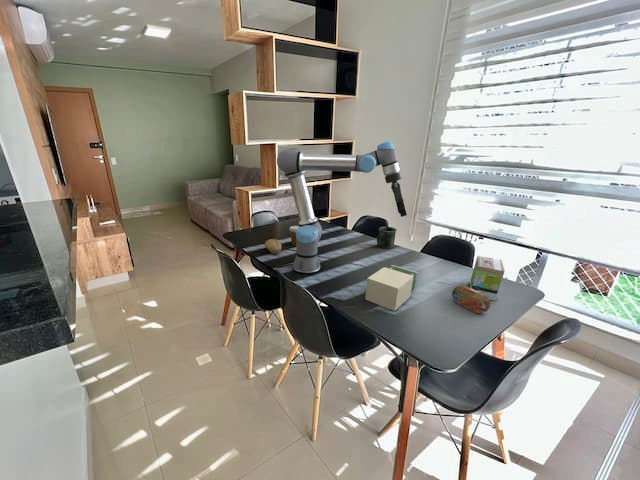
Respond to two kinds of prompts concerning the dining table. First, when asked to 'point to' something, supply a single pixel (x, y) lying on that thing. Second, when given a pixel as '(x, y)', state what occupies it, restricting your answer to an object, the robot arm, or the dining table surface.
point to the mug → (386, 237)
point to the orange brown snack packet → (471, 299)
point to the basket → (406, 273)
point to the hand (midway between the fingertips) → (402, 214)
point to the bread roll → (273, 246)
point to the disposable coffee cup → (293, 234)
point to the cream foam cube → (388, 288)
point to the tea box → (487, 276)
